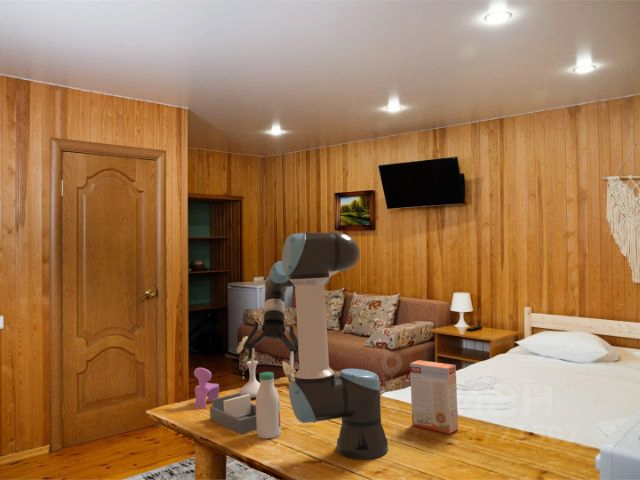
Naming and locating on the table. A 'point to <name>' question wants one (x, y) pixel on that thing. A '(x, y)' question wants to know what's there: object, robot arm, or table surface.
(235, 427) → the grey tray
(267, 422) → the milk bottle
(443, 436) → the table surface
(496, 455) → the table surface
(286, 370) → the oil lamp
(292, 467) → the table surface
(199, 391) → the toy chair
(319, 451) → the table surface
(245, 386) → the flower in vase
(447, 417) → the cracker box
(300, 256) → the robot arm
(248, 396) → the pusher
